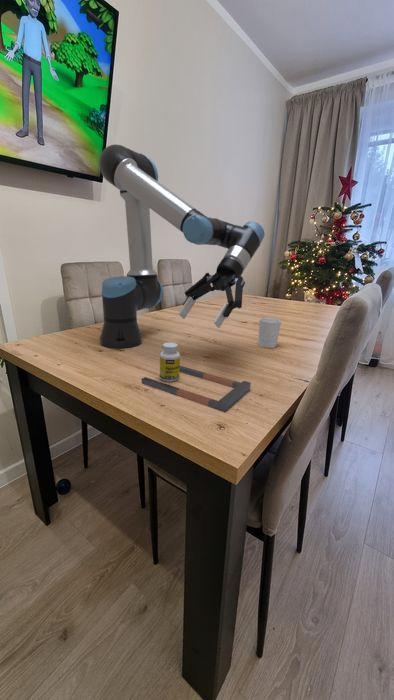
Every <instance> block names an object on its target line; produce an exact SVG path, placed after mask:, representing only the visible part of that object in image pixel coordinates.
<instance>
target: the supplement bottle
mask: <svg viewBox="0 0 394 700" xmlns="http://www.w3.org/2000/svg"><path fill="white" fill-rule="evenodd" d="M178 347H179V345H178V344H177V343H176V342H165V343H163V344H162V351H161V352H160V353H159V354H160V355H159V379H160V380H162V381H163V382H166V383H167V382H168V383H170V382H171V383H172V382H176V381H178V380H179V378H180V372H179V371H180V366H181V362H180V361H181V354H180V352H179V351H178V350H179V348H178Z"/></svg>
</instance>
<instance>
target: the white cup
mask: <svg viewBox="0 0 394 700" xmlns="http://www.w3.org/2000/svg"><path fill="white" fill-rule="evenodd" d="M281 323H282V320H280V319H278V318H274V317H261V318H259V323H258V325H259V326H258V346H259V347H261V348H264V349H265V348H267V349H274V348H276V347H277V344H278V340H279V336H280V330H281V325H282V324H281Z"/></svg>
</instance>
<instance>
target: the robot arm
mask: <svg viewBox="0 0 394 700" xmlns="http://www.w3.org/2000/svg"><path fill="white" fill-rule="evenodd" d="M98 160H99V161H98V165H99V170H100V172H101V175H102V177H103V178H104V180H106V181H107V182H108V183H109V184H111V185H112V186H113V187H115V188H116V189H118V190H119V195H120V198H122V199H123V200H124V205H125V218H126V231H127V242H128V243H127V245H128V258H129V271H128V272H127V273H126V275H125V276H124V275H123V276H121V275H120V276H113V277H109V278H106V279H104V280H103V281H102V284H101V296H102V297H101V298H102V311H103V314H102V315H103V326H102V330H101V334H100V336H99V344H100V345H101V346H103V347H105V348H111V349H126V348H127V349H128V348H132V347H133V348H134V347H137V346H140V345H141V344H142V343H143V335H142V333H141V331H140V327H139V324H138V319H137V317H138V315H137V314H138V313H137V312H138V311H141V310H145V309H150V308H153V307H155V306H157V305H158V304H160V302H161V301H162V299H163V297H164V296H163V295H164V286H163V284H162V283H161V281H160V280H159V279H158V272H156V270H154V269H153V267H154V266H153V250H152V249H153V248H152V247H153V245H152V233H151V231H152V229H151V212H150V210H152V211H153V212H154V213H156V214H157V215H158V216H160V217H161V218H163V219H164V220H165V221H167V222H168V223H169V224H171V226H174V227H175V228H176V229H177V230H178V231H180V232H182V233H183V236H184V238H185V239H186V241H187V242H189V243H191V244H195V245H199V246H200V245H202V246H203V245H206V246H207V245H208V246H218V247H222V248H224V249H227V251H226V252H225V254H224V255H223V257H222V259H221V260H220V262H219V263H218V265H217V267H216V271H215V273H214V274H213V275H212V274H210V273H209V272H206V273H205V274H204V275H203V277H201V278H200V279H199V280H198V281H197V282H196V283H194V284H193V285H192V286H191V287H189V288H188V289H186V291H184V294H185V296H186V299H185V301H184V303H182V307H181V309H180V310H179V311H178V315H179V316H180V318H182V319H183V320H185V319H186V317H187V316H188V314H189V313H190V312H191V310H192V308H193V307H194V305H195V304H196V300H198V299H199V298H201V297H203V296H205V295H206V294H209V292H214V291H221V292H225V294H226V300H227V302H225V303H224V304H223V306H222V307H221V309H220V310H219V312H218V313H217V315H216V316H215V319H213V324H214V325H215V326H216V328H218V329H220V328H221V326H222V325H223V323H224V321H225V319H226V318H229V317H230V315H231V313H232V312H233V310H235V309H236V308H238V309H241V308H242V307H243V291H244V287H245V285H246V282H245V280H244V278H243V276H242V275H243V273H244V271H245V270H246V268H247V267H248V265H249V263H250V261H251V260H252V259H253V257H254V255H255V254H256V252H257V251H258V249H259V248H260V246H261V244H262V242H263V240H264V238H265V235H266V234H265V229H264V227H263V226H262V225H261V224H259V222H256V221H253V220H251V221H247V222H246V223H244V224H243V225H242V226H241V225H238V224H233V223H230V222H228V221H224V220H221V219H219V218H215V217H211V216H209V217H208V216H207V215H205V214H204V213H202V211H201V212H200V211H199V210H198V209H196V208H195V207H194V206H192V205H191V204H189V203H188V202H187V201H185V200H184V199H183V198H181V197H180V196H178V194H177V193H174V192H173V191H171V189H169V188H167V187H166V186H165V185H163V184H162V183H160V182H159V174H158V169H157V166H156V164H155V163H154V162H153V161H152V160H151V158H149V157H147V156H146V155H144V154H143V153H141V152H140V153H139V152H137V151H134V150H132V149H130V148H128V147H126V146H124V145H121V144H111V145H110V144H109V146H106V147H105V148H104V149H103V150H102V151H101V153H100V155H99V159H98ZM233 286H235V289H234V290H235V291H234V292H235V293H234V297H233V291H232V287H233Z"/></svg>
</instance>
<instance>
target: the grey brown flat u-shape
mask: <svg viewBox="0 0 394 700" xmlns="http://www.w3.org/2000/svg"><path fill="white" fill-rule="evenodd" d="M179 373H183V374H187V375H190V376H194V377H198V378H200V379H203V380H207V381H211V382H214V383H218V384H221V385H223V386H226V387H227V386H228V387H231V388H233V389H232V390H230V391H229V392H227V393H226V394H225V395H224V396H222V397H221V398H220V399H219V400H216V399H214V398H211V397H208V396H205V395H202V394H198V393H195V392H192V391H190V390H185V389H183V388H180V387H177V386H174V385H171V384H168V383H164V382H162V381H158V380H156V379H152V378H150V377H147V376H144V377H142V378H141V384H142V385H143V384H144V385H146V386H150V387H153V388H155V389H158V390H161V391H164V392H167V393H169V394H173V395H175V396H179V397H182V398H185V399H187V400H190V401H193V402H196V403H199V404H202V405H204V406H207V407H210V408H213V409H217V410H219V411H223V412H227V411H228V410H229V409H230V408H231V407H233V405H235V403H237V402H238V401H239V400H240V399H241V398H242V397H244V396H245V395H246V394H247V393H249V391H250V390H251V386H252V385H251V384H252V383H251V382H250V381H246V380H243V381H241V382H240V381H236V380H233V379H230V378H225V377H222V376H219V375H215V374H212V373H208V372H204V371H200V370H198V369H193V368H191V367H187V366H184V365H180V371H179Z"/></svg>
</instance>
